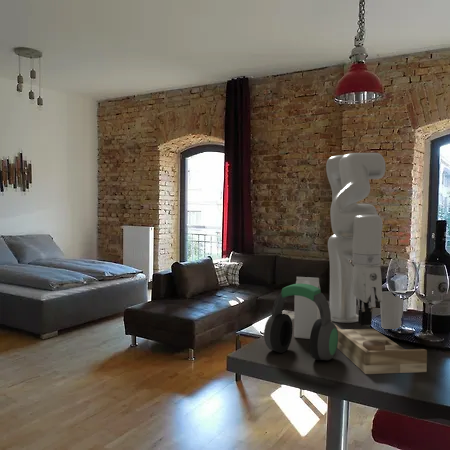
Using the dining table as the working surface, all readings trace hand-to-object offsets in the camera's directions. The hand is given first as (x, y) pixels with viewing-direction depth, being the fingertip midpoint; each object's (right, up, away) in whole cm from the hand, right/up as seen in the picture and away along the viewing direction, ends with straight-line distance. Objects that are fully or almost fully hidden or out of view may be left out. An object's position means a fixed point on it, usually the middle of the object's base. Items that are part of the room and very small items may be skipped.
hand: (364, 324), depth 127 cm
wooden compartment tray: (+2, -9, +3) cm, 10 cm away
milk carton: (-13, -8, +19) cm, 24 cm away
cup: (+18, -8, +28) cm, 34 cm away
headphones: (-18, -9, +1) cm, 20 cm away
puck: (-1, -7, -9) cm, 12 cm away
